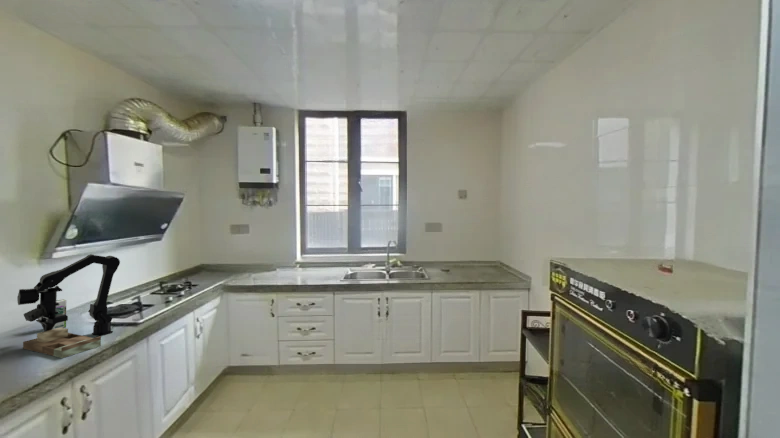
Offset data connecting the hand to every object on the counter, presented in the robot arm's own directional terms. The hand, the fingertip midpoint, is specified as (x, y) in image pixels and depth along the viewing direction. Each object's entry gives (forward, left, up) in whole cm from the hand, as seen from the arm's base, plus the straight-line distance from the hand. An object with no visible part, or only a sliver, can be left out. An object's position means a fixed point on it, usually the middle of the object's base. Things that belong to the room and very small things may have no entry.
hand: (47, 334), depth 180 cm
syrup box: (-16, -20, -5) cm, 26 cm away
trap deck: (0, +11, -4) cm, 11 cm away
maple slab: (0, +4, -1) cm, 4 cm away
